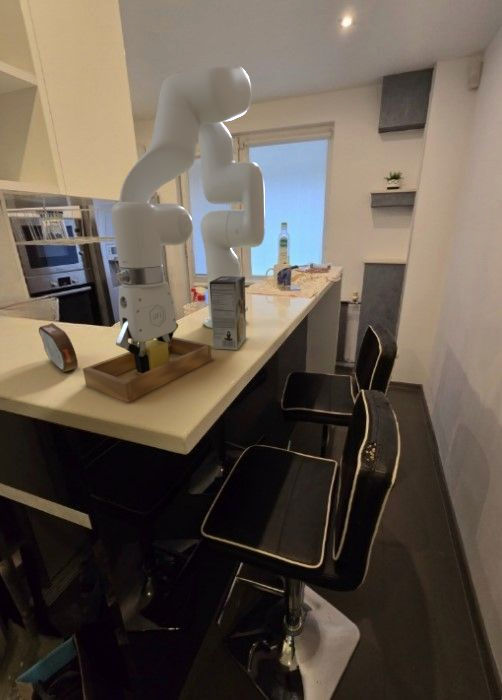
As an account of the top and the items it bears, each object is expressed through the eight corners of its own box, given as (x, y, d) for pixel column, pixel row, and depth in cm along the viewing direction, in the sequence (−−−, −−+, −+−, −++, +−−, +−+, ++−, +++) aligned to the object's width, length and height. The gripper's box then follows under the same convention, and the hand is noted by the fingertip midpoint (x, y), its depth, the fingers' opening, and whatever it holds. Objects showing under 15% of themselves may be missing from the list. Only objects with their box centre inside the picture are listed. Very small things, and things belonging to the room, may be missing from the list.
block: (155, 365, 69) (151, 338, 67) (170, 370, 67) (167, 342, 65) (137, 373, 65) (133, 345, 63) (153, 378, 63) (149, 349, 61)
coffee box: (223, 337, 87) (220, 275, 81) (246, 338, 85) (245, 276, 80) (212, 348, 78) (208, 281, 73) (238, 350, 77) (236, 282, 71)
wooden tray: (172, 350, 78) (171, 336, 76) (211, 360, 72) (211, 345, 70) (86, 385, 60) (82, 368, 59) (128, 403, 54) (125, 384, 53)
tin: (81, 373, 65) (73, 333, 63) (64, 378, 63) (55, 337, 60) (58, 354, 76) (50, 319, 73) (43, 358, 74) (34, 322, 71)
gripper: (115, 284, 51) (131, 389, 57) (189, 272, 64) (196, 358, 71) (87, 281, 55) (105, 379, 61) (162, 270, 68) (171, 352, 74)
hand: (153, 367), depth 66 cm, fingers closed on block, 4 cm apart
